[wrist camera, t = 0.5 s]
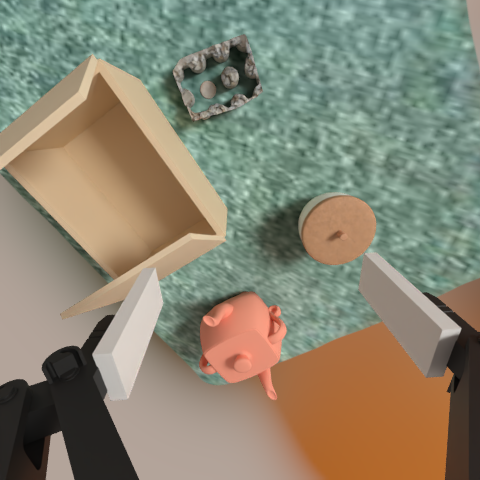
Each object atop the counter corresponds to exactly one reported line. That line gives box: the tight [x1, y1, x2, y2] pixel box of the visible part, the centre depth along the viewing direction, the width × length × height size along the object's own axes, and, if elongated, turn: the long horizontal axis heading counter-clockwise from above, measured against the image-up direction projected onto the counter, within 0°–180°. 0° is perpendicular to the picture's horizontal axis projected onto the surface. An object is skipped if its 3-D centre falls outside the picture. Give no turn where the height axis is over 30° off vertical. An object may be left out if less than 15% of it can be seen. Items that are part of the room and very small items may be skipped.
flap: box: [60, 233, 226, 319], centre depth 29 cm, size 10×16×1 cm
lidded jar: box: [298, 192, 376, 265], centre depth 41 cm, size 11×11×9 cm
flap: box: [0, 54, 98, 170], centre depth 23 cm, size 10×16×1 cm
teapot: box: [199, 292, 286, 400], centre depth 47 cm, size 15×17×13 cm
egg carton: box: [173, 34, 263, 122], centre depth 35 cm, size 11×8×4 cm
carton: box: [4, 58, 227, 280], centre depth 36 cm, size 22×16×12 cm
